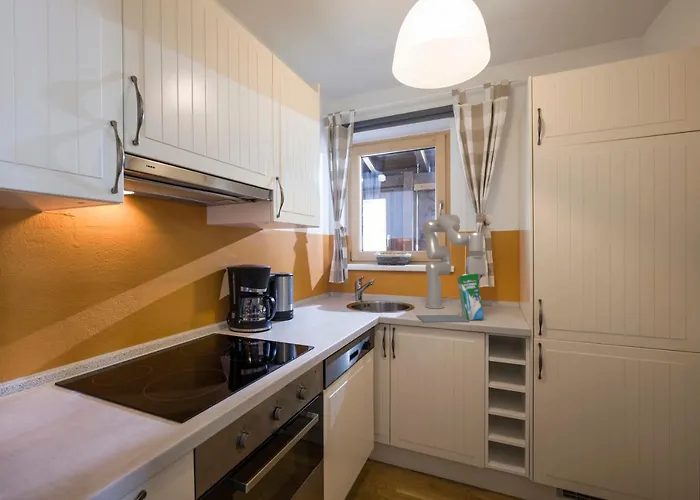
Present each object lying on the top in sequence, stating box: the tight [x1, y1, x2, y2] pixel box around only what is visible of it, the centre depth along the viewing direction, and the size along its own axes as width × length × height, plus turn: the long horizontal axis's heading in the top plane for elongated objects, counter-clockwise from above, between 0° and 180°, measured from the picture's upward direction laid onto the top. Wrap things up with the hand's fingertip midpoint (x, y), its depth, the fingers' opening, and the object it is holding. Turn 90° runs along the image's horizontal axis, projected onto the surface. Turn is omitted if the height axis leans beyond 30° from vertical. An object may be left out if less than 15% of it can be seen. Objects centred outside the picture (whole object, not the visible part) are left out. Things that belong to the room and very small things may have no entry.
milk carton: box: [456, 273, 485, 321], centre depth 181 cm, size 9×9×25 cm
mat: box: [415, 314, 470, 323], centre depth 180 cm, size 16×25×1 cm, turn 91°
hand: (475, 286), depth 181 cm, fingers closed
